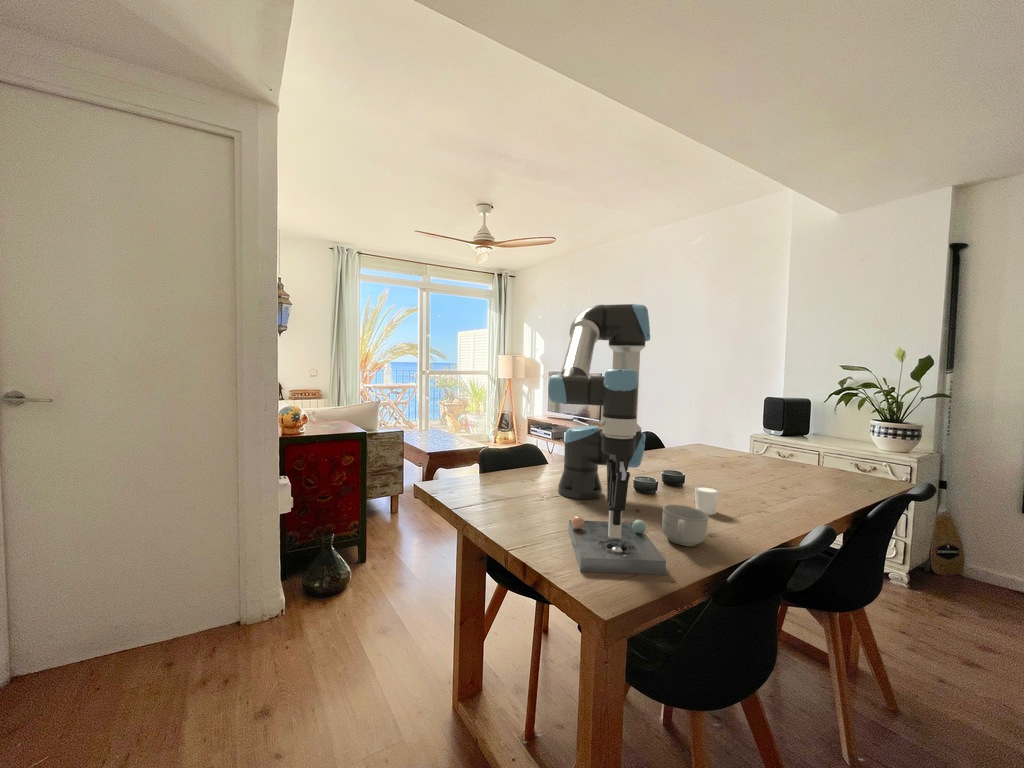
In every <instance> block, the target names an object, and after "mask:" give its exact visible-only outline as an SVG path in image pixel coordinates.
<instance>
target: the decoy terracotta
mask: <svg viewBox="0 0 1024 768" xmlns="http://www.w3.org/2000/svg"><path fill="white" fill-rule="evenodd" d="M571 520H572V521H571V523H572V526H573V527H574V528H575V529H581V528H583V526H584V521H585V520H584V517H582V516H580V515H575V516H573V518H572V519H571Z"/></svg>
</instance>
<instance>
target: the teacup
mask: <svg viewBox="0 0 1024 768" xmlns="http://www.w3.org/2000/svg"><path fill="white" fill-rule="evenodd" d="M709 517H710V515H707V514H706V513H705V512H703V511H701V510H698V509H696V507H692V506H688V505H682V504H665V505H663V506H662V517H661V518H662V520H661V528H662V532H663V533H664V535H665V536H666V537H667V538H668V540H669V541H671V542H673V543H674V544H677V545H680V546H684V547H695V546H697V545H698V544H701V543H702V542H703V541H704V540H705V538H706V534H707V528H708V523H709V522H708V521H709Z"/></svg>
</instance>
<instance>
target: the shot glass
mask: <svg viewBox="0 0 1024 768" xmlns="http://www.w3.org/2000/svg"><path fill="white" fill-rule="evenodd" d="M719 495H720V491H719V490H718V489H715V488H712V487H708V486H697V487H695V488H694V498H695V509H698V510H701V511H703V512H705V513H706V514H707V515H708V516H714V515H716V514H717V508H718V502H719ZM713 514H714V515H713Z"/></svg>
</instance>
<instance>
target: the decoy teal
mask: <svg viewBox="0 0 1024 768" xmlns="http://www.w3.org/2000/svg"><path fill="white" fill-rule="evenodd" d="M632 527H633V530H634V531H635V532H636V533H643V532H644V533H645V531H646V529H647V526H646V523H645V521H644V520H642V519H636V520H634V521H633V525H632Z"/></svg>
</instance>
